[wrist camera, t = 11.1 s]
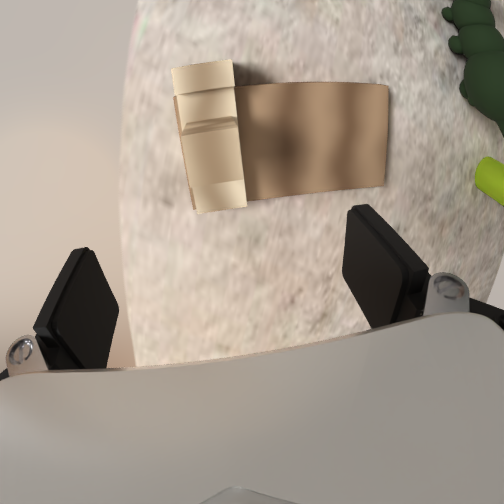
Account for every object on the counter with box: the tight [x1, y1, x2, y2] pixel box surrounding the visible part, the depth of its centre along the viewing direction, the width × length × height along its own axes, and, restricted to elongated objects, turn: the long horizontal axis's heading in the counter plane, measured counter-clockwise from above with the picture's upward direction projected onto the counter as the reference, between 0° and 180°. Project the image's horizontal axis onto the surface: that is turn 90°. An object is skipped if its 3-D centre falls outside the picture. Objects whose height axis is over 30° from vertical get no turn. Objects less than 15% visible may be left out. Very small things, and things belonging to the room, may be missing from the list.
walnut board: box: [173, 82, 388, 210], centre depth 29 cm, size 22×12×2 cm, turn 95°
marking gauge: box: [171, 59, 247, 214], centre depth 24 cm, size 5×14×9 cm, turn 5°
